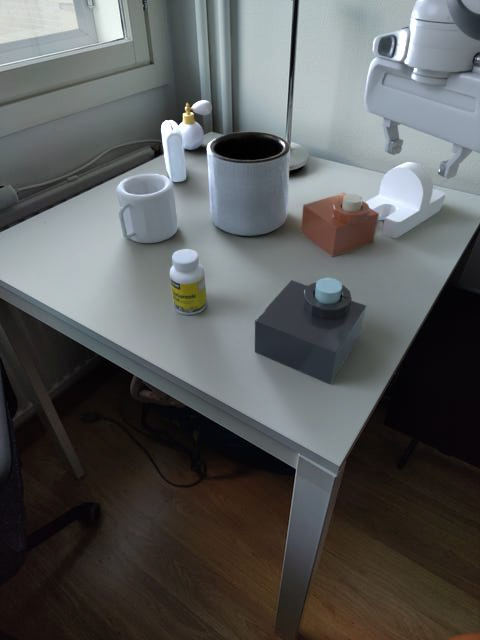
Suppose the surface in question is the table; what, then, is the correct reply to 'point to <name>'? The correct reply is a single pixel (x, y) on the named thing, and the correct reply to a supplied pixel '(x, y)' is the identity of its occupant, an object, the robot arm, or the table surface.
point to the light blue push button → (328, 290)
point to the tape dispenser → (406, 199)
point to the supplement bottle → (188, 282)
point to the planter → (248, 182)
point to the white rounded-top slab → (173, 151)
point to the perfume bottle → (193, 125)
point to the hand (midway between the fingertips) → (418, 163)
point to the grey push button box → (309, 330)
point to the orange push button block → (338, 225)
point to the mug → (147, 208)
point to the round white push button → (352, 202)
